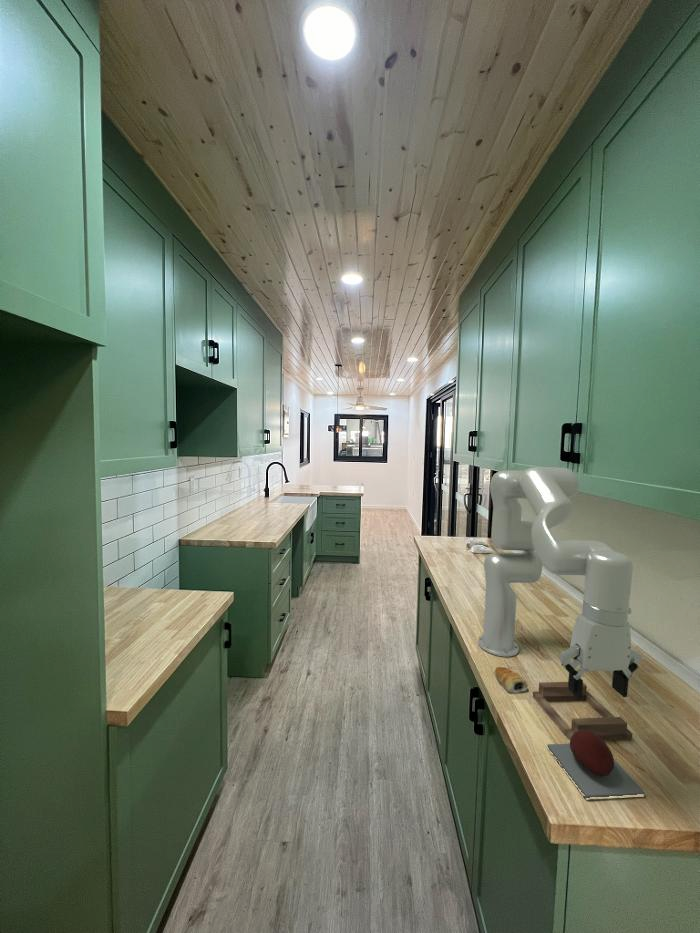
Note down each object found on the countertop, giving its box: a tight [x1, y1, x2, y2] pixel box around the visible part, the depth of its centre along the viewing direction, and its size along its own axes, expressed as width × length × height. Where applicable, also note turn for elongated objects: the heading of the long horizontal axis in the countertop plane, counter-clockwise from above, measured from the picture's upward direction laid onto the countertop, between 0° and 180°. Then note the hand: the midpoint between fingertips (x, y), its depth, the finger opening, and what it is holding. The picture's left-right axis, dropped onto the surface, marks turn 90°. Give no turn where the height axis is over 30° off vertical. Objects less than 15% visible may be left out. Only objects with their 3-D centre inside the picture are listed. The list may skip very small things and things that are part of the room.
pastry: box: [494, 666, 529, 694], centre depth 105 cm, size 9×7×4 cm
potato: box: [569, 730, 615, 777], centre depth 77 cm, size 8×9×6 cm
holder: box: [532, 681, 634, 741], centre depth 93 cm, size 15×15×4 cm
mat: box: [547, 742, 646, 798], centre depth 77 cm, size 12×12×1 cm
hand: (597, 693), depth 76 cm, fingers open, 9 cm apart
